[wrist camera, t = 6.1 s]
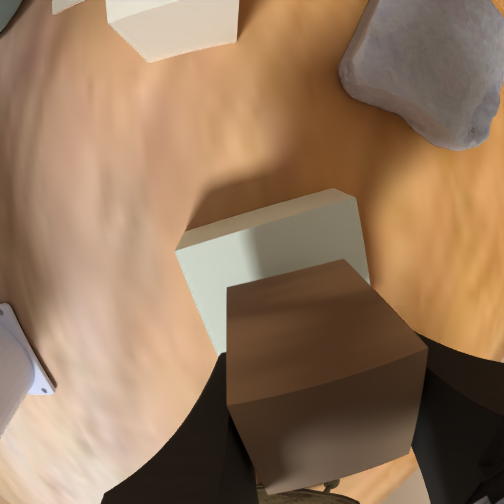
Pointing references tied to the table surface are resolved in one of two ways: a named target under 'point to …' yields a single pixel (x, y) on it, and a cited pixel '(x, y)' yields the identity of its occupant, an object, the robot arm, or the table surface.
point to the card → (63, 5)
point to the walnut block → (320, 375)
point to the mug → (7, 11)
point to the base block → (268, 249)
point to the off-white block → (173, 25)
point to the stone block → (430, 66)
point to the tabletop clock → (305, 496)
